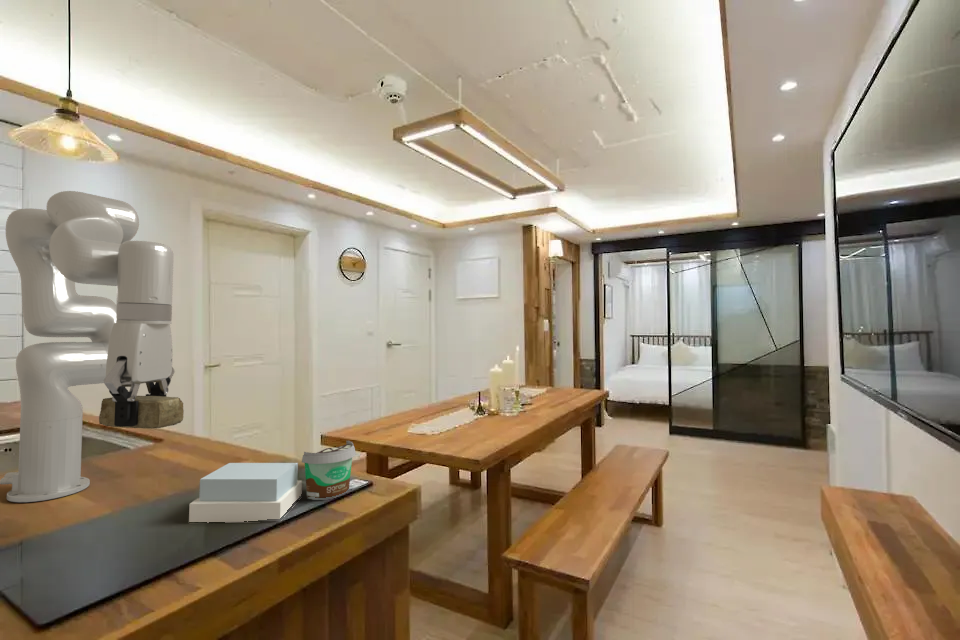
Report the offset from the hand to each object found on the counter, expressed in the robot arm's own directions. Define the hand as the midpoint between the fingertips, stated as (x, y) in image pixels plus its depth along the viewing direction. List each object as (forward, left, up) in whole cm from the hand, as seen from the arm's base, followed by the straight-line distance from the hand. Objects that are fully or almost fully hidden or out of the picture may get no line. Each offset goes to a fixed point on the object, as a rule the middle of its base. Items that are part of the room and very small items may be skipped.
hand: (141, 420), depth 75 cm
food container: (+29, +17, -20) cm, 39 cm away
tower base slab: (+14, +11, -20) cm, 27 cm away
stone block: (0, 0, -1) cm, 1 cm away
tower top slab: (+14, +11, -16) cm, 24 cm away
